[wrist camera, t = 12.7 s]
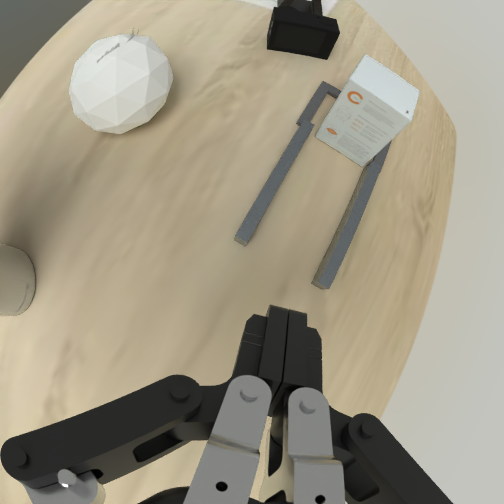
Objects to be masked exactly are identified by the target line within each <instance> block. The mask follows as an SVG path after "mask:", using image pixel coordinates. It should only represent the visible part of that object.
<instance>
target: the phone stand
mask: <svg viewBox="0 0 504 504" xmlns="http://www.w3.org/2000/svg"><path fill="white" fill-rule="evenodd" d="M281 6H291V7H294V8H296V9H297V10H298V11H302V12H307V13H312V14H317V15H321V16H323V15H322V5H321V0H312V1H307V0H278V7H281Z"/></svg>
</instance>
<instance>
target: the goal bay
mask: <svg viewBox="0 0 504 504" xmlns="http://www.w3.org/2000/svg"><path fill="white" fill-rule="evenodd" d="M327 93H328V94H329V95H331V96H333V97H335V98H336V99H337V98H338V96H339V94H340V93H341V91H340V90H338V89H337V88H335V87H333V86H331V85H330V84H328V83H326V82H324V81H323V82H322V83H321V85H320V86H319V88H318V89H317V91H316V92H315V94H314V96H313V97H312V99H311V100H310V102H309V104H308V105H307V107H306V108H305V110H304V111H303V113H302V115H301V116H300V118H299V119H298V121H297V123H296V124H298V125H299V126H300V125H301V124H302V122H303V121H304V119H305V120H307V121H308V122H310V121H311V119H312V118H313V116H314V114H315V112H316V111H317V109H318V107H319V106H320V104H321V102H322V101H323V99H324V97H325V96H326V94H327ZM391 141H392V140H391ZM391 141H390V142H389V143H388V144H387V145H386V146H385V147H384V148H383V149H382V150H381V151H380V152H379V153H377V154H376V155H375V156H374V159H373V162H375V163H376V164H378V165H379V166H381V169H382V166H383V163H384V161H385V158H386V155H387V152H388V149H389V146H390V144H391ZM381 169H380V171H381ZM379 173H380V172H379Z"/></svg>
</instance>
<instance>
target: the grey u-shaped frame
mask: <svg viewBox="0 0 504 504" xmlns="http://www.w3.org/2000/svg"><path fill="white" fill-rule="evenodd" d="M313 126H314V124H312V123H310V122H308V121H307V120H305V119H304V121H303V122H302V124H301V125H300V127H299V129H298V130H297V132H296V134H295V135H294V137H293V139H292V140H291V142H290V144H289V145H288V147H287V149H286V150H285V152H284V154H283V155H282V157H281V159H280V160H279V162H278V164H277V165H276V167H275V169H274V170H273V172H272V174H271V175H270V177H269V179H268V180H267V182H266V184H265V186H264V187H263V189H262V191H261V192H260V194H259V196H258V197H257V199H256V201H255V203H254V204H253V206H252V208H251V209H250V211H249V213H248V215H247V216H246V218H245V220H244V222H243V223H242V225H241V227H240V228H239V230H238V232H237V234H236V235H235V238H234V240H235V241H237V242H238V243H240V244H242V245H244V246H246V244H247V242H248V241H249V239H250V237H251V235H252V234H253V232H254V230H255V228H256V226H257V225H258V223H259V221H260V219H261V218H262V216H263V214H264V212H265V211H266V209H267V207H268V205H269V203H270V202H271V200H272V198H273V196H274V195H275V193H276V191H277V189H278V188H279V186H280V184H281V182H282V181H283V179H284V177H285V175H286V174H287V172H288V170H289V168H290V167H291V165H292V163H293V161H294V160H295V158H296V156H297V154H298V153H299V151H300V149H301V147H302V146H303V144H304V142H305V140H306V139H307V137H308V135H309V133H310V132H311V130H312V128H313ZM380 169H381V166H379V165H378V164H376V163H375V162H373V161H372V162H370V163H369V164H368V165H367V166H366V167H365V168H364V170H363V172H362V175H361V177H360V179H359V182H358V184H357V186H356V189H355V191H354V193H353V196H352V198H351V200H350V203H349V205H348V207H347V209H346V212H345V214H344V216H343V218H342V220H341V223H340V225H339V227H338V229H337V231H336V234H335V236H334V238H333V240H332V242H331V244H330V246H329V249H328V251H327V253H326V255H325V257H324V259H323V261H322V263H321V265H320V267H319V269H318V271H317V273H316V275H315V277H314V279H313V281H312V283H311V284H313V285H315V286H317V287H318V288H320V289H329V288H330V286H331V284H332V282H333V280H334V278H335V276H336V274H337V271H338V269H339V267H340V265H341V263H342V261H343V258H344V256H345V254H346V252H347V250H348V247H349V245H350V243H351V241H352V238H353V236H354V234H355V231H356V229H357V227H358V224H359V222H360V220H361V217H362V215H363V212H364V210H365V208H366V205H367V203H368V200H369V198H370V195H371V193H372V190H373V187H374V185H375V182H376V180H377V177H378V174H379V172H380Z"/></svg>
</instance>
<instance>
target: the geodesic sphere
mask: <svg viewBox="0 0 504 504" xmlns="http://www.w3.org/2000/svg"><path fill="white" fill-rule="evenodd" d="M138 31H139V30H138ZM137 34H138V33H137ZM173 78H174V77H173V74H172V70H171V67H170V64H169V60H168V58H167V57H166V55H165V54H164V53H163V52H162V51H161V49H160V48H159V47H158V46H157V45H156V43H155V42H154V41H153V40H152V39H151V37H148V36H139V35H134V30H133V33H132V35H129V34H119V35H115V36H112V37H108V38H104V39H100V40H97V41H95V42H94V43H93V44H92V45H91V46H90V47H89V49H88V50H87V51H86V52H85V53H84V54H83V55H82V56H81V57H80V58H79V59H78V60H77V61H76V63H75V65H74V69H73V73H72V78H71V82H70V87H69V95H70V99H71V103H72V107H73V110H74V114H75V116H76V117H78V118H79V119H81V120H82V121H83V122H85V123H86V124H87V125H89V126H90V127H91V128H93V129H94V130H95V131H102V132H109V133H116V134H123V133H125V132H127V131H129V130H131V129H133V128H135V127H137V126H140V125H142V124H144V123H146V122H148V121H150V119H151V118H152V117H153V116H154V115H155V114H156V113H157V112H158V111H159V110H160V109H161V108H162V106H163V105H164V104H165V102H166V99H167V96H168V93H169V90H170V87H171V84H172V81H173Z"/></svg>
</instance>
